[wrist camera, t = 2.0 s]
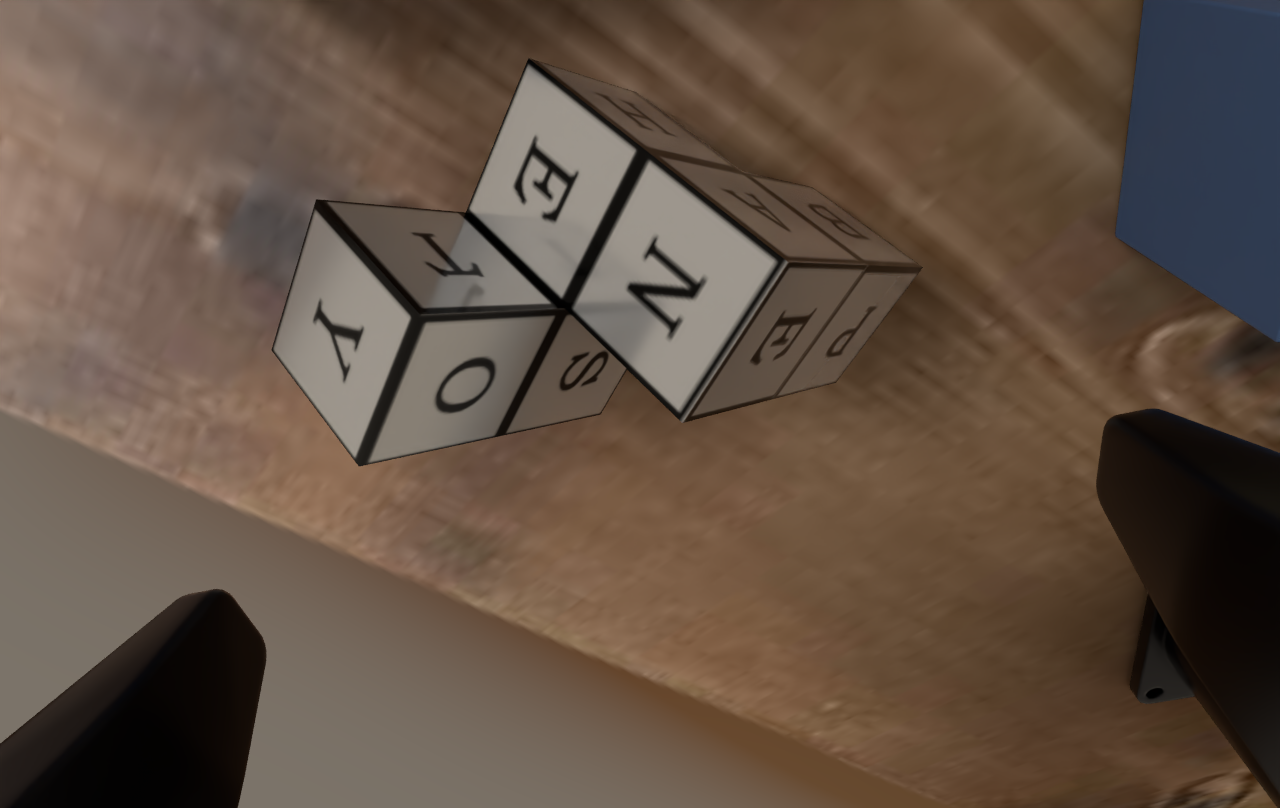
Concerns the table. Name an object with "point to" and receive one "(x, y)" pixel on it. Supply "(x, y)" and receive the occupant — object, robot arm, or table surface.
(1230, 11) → the blue block
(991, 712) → the table surface
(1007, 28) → the table surface
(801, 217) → the building blocks
